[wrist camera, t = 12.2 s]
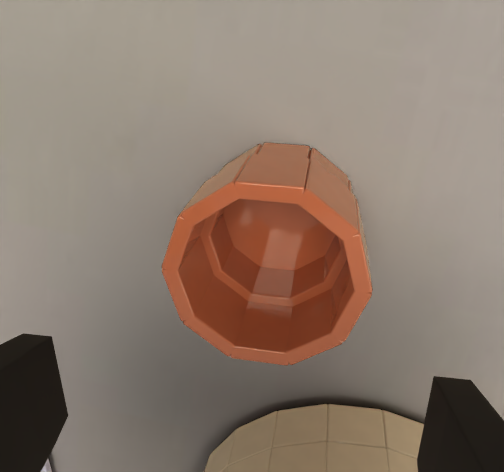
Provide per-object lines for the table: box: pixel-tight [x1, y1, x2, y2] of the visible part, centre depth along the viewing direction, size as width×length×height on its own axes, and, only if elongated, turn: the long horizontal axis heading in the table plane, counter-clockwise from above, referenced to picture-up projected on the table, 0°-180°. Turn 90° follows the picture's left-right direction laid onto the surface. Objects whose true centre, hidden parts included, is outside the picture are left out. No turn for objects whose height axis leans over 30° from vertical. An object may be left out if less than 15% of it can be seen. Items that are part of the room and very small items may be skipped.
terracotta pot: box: [162, 143, 373, 365], centre depth 14 cm, size 5×5×4 cm
